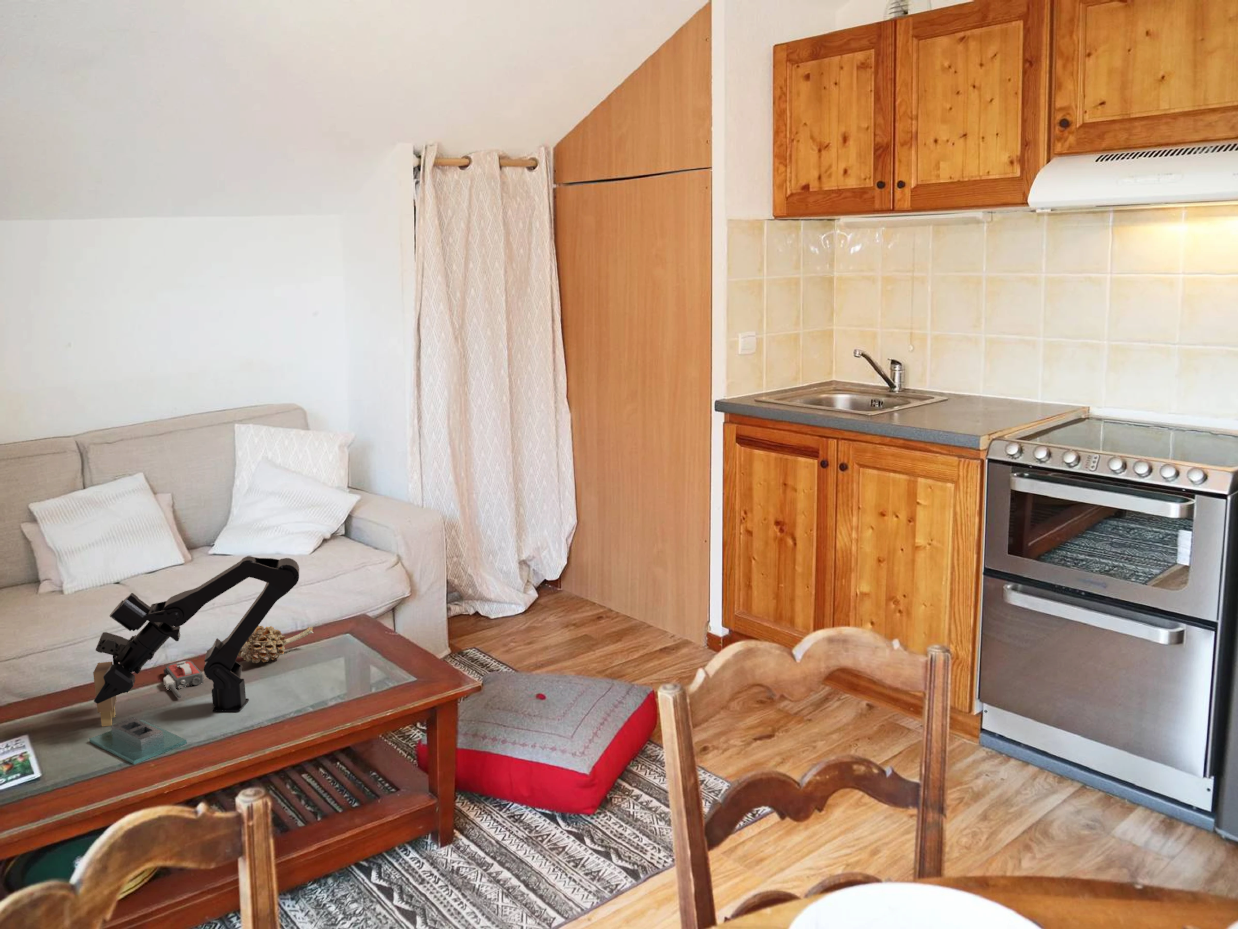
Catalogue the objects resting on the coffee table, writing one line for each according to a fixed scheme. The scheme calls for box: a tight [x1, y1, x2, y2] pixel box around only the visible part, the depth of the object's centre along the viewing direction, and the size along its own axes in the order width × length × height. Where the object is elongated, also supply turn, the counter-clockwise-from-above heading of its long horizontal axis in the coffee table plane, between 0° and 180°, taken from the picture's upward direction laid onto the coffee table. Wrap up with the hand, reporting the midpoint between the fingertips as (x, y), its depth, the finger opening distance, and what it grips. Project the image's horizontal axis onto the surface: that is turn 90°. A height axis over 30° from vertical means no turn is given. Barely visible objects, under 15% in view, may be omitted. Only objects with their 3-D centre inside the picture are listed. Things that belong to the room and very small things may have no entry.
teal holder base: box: [89, 717, 188, 765], centre depth 233 cm, size 18×12×3 cm, turn 53°
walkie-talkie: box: [163, 659, 205, 699], centre depth 265 cm, size 9×4×20 cm
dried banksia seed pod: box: [237, 625, 314, 664], centre depth 281 cm, size 22×10×10 cm, turn 140°
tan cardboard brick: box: [92, 661, 117, 727], centre depth 243 cm, size 6×3×13 cm, turn 16°
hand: (99, 694), depth 243 cm, fingers open, 9 cm apart
